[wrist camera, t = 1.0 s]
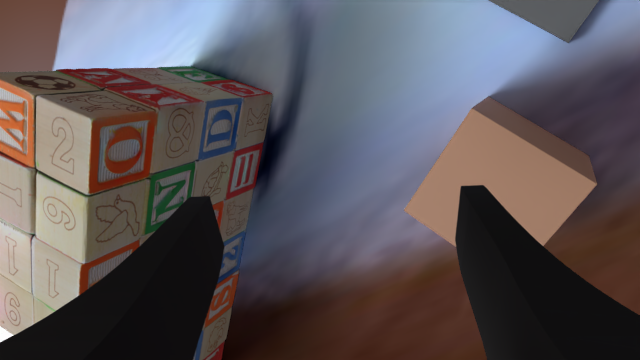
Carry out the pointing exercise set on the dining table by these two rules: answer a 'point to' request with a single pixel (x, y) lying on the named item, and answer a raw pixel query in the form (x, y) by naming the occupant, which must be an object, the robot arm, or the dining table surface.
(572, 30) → the charcoal mat
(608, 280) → the dining table surface
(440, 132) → the dining table surface
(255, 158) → the stack of blocks
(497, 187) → the tan cube
